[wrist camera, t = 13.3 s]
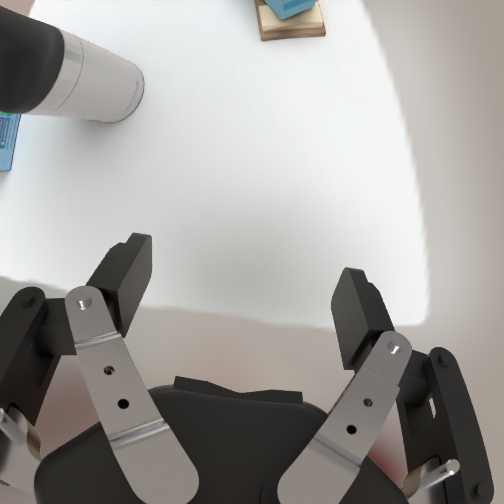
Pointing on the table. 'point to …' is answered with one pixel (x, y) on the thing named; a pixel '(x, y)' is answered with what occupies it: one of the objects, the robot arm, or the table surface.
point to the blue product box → (7, 138)
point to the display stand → (289, 23)
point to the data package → (289, 7)
